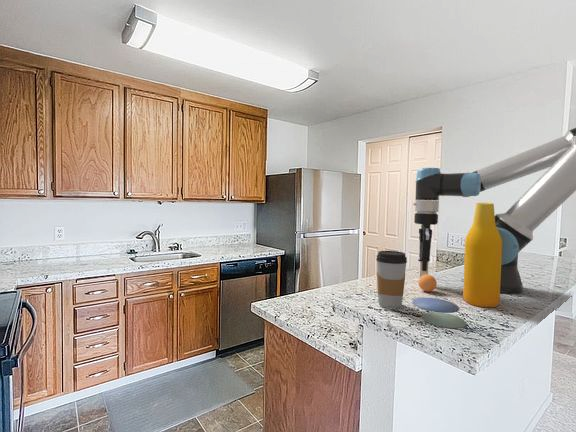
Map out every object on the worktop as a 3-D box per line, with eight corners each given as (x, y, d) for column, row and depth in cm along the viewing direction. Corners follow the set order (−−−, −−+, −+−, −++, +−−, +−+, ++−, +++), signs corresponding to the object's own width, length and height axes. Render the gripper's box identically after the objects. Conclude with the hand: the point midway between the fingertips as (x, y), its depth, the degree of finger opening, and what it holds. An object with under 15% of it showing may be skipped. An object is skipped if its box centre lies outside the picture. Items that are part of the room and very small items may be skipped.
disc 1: (442, 298, 98) (442, 297, 98) (468, 312, 86) (468, 311, 86) (405, 298, 97) (405, 297, 97) (425, 312, 85) (425, 311, 85)
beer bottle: (507, 307, 89) (513, 204, 86) (475, 309, 89) (479, 205, 85) (485, 294, 99) (489, 201, 95) (456, 296, 98) (459, 202, 94)
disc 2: (450, 312, 85) (450, 311, 85) (475, 327, 75) (475, 327, 75) (414, 313, 84) (414, 312, 84) (435, 328, 74) (435, 327, 74)
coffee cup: (407, 311, 86) (409, 256, 85) (375, 308, 87) (377, 254, 86) (403, 301, 94) (404, 251, 93) (373, 299, 95) (375, 249, 95)
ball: (430, 288, 108) (431, 272, 108) (439, 293, 102) (440, 276, 102) (415, 288, 107) (415, 272, 107) (423, 293, 102) (423, 276, 102)
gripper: (413, 211, 118) (410, 274, 120) (416, 213, 106) (413, 283, 107) (435, 212, 116) (432, 276, 118) (441, 213, 104) (437, 285, 105)
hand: (423, 279), depth 113 cm, fingers closed
